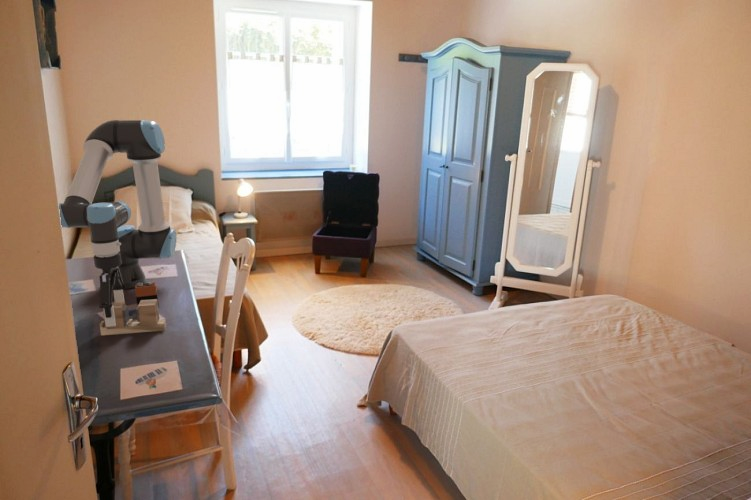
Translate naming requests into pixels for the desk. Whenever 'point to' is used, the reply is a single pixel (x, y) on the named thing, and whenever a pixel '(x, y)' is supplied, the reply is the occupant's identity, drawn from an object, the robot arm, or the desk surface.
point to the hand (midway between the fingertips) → (115, 316)
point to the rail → (132, 328)
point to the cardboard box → (120, 315)
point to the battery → (146, 291)
